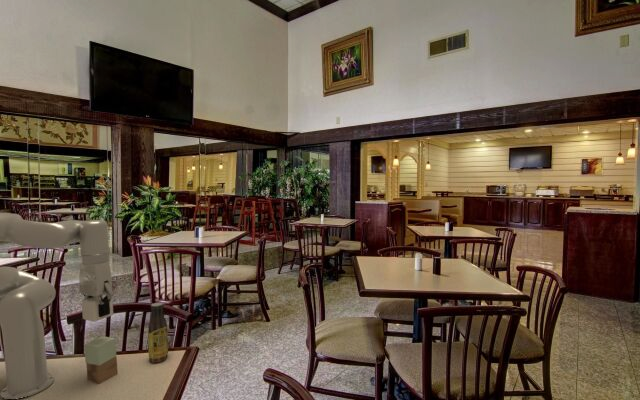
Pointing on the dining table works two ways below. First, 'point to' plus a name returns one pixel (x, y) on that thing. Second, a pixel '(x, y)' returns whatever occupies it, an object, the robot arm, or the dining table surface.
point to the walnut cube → (102, 371)
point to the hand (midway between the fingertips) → (97, 313)
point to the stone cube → (94, 309)
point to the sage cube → (100, 350)
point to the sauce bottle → (157, 334)
